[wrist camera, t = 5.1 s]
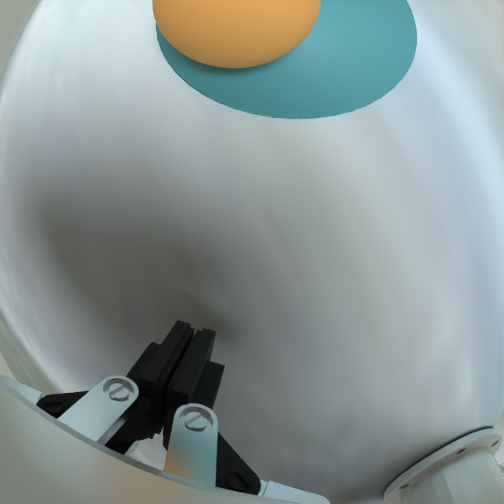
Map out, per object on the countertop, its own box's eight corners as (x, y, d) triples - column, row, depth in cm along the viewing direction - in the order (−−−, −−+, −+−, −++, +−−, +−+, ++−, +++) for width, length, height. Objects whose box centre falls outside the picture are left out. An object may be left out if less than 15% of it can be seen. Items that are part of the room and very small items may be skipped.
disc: (416, -27, 7) (417, -28, 7) (396, 158, 10) (398, 158, 10) (203, -69, 7) (203, -70, 7) (124, 96, 10) (122, 95, 10)
